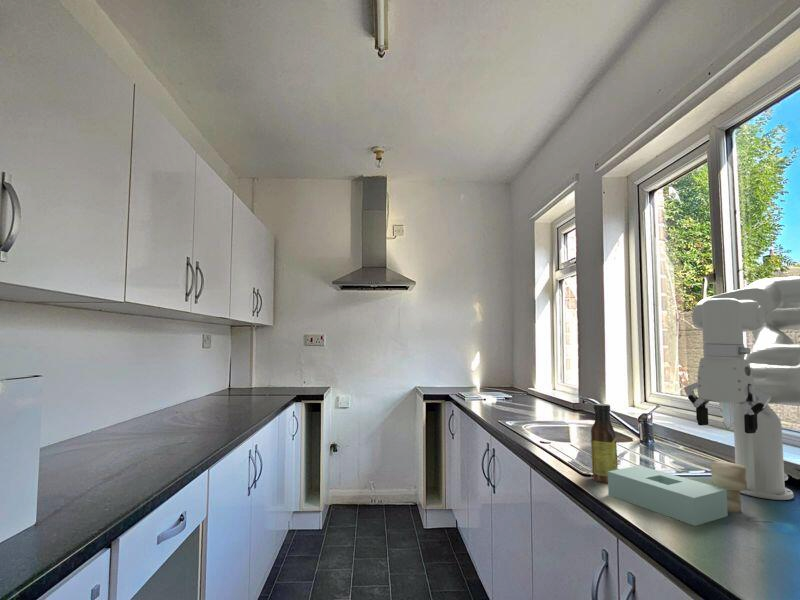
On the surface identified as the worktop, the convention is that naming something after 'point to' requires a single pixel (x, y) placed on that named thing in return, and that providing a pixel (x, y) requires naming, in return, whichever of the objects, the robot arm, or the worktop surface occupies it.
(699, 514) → the block
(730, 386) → the robot arm
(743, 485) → the pin
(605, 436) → the sauce bottle
